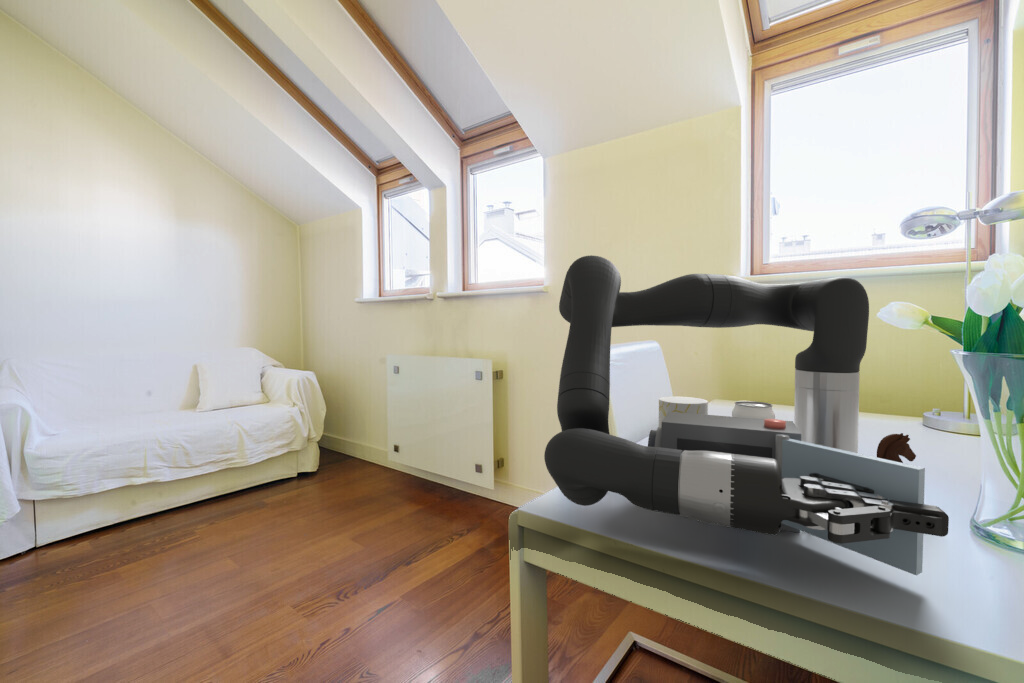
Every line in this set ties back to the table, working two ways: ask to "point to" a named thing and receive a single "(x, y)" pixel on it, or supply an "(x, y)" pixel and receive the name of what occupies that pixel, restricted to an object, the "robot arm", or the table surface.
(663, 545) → the table surface
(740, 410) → the can
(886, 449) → the chess piece
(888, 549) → the side door
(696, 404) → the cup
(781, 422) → the grey box
